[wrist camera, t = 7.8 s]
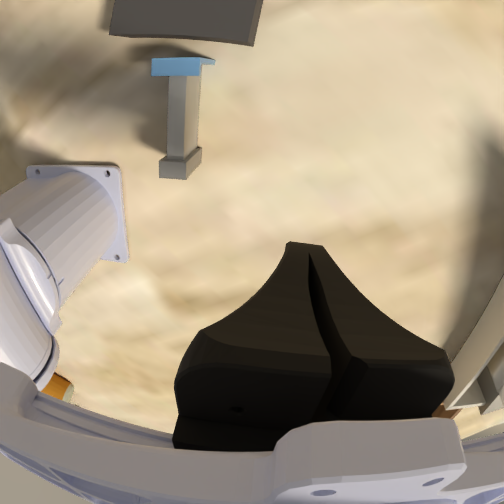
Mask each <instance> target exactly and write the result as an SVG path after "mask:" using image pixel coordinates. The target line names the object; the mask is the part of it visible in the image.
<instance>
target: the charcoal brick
mask: <svg viewBox="0 0 504 504" xmlns="http://www.w3.org/2000/svg"><path fill="white" fill-rule="evenodd" d="M262 4H263V0H115V3H114V8H113V14H112V19H111V25H110V31H109V35H114V36H122V37H130V38H176V39H192V40H204V41H214V42H223V43H232V44H239V45H246V46H252V47H253V46H254V41H255V36H256V32H257V27H258V22H259V17H260V13H261V8H262Z"/></svg>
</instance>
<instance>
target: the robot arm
mask: <svg viewBox="0 0 504 504" xmlns="http://www.w3.org/2000/svg"><path fill="white" fill-rule="evenodd" d="M38 170H39V171H40V173H39V171H38ZM107 170H108V171H109V172H110V175H108V174H107ZM26 175H27V179H26V180H24V181H22V182H21V183H19V184H17V185H16V186H14V187H12V188H11V189H9V190H8V191H6V192H5V193H3V194H1V195H0V453H2V454H3V455H4V456H5V457H7V458H8V459H10V460H12V461H13V462H15V463H17V464H18V465H20V466H22V467H23V468H25V469H27V470H29V471H30V472H32V473H34V474H35V475H37V476H39V477H41V478H43V479H45V480H46V481H48V482H50V483H52V484H54V485H56V486H58V487H60V488H62V489H64V490H66V491H68V492H70V493H72V494H74V495H76V496H78V497H81V498H83V499H85V500H87V501H89V502H92V503H94V504H497V503H500V502H502V501H504V432H503V433H499V434H494V435H490V436H486V437H482V438H477V439H472V440H467V441H461V438H460V434H459V431H458V427H457V425H456V423H455V421H454V420H452V419H449V418H438V417H433V418H432V414H433V412H434V411H435V410H436V409H437V408H438V407H439V406H440V405H441V403H442V402H443V401H444V400H445V399H446V398H447V396H448V395H449V393H450V392H451V390H452V388H453V386H454V382H455V377H454V373H453V370H452V367H451V365H450V362H449V359H448V357H447V354H446V352H445V350H443V349H441V348H439V347H437V346H435V345H433V344H431V343H429V342H427V341H425V340H423V339H421V338H420V337H418V336H416V335H415V334H413V333H411V332H410V331H408V330H406V329H405V328H403V327H402V326H400V325H399V324H397V323H396V322H395V321H393V320H392V319H391V318H389V317H388V316H387V315H385V314H384V313H383V312H381V311H380V310H379V309H378V308H377V307H376V306H374V305H373V304H372V303H371V302H370V301H369V300H368V299H367V298H366V297H365V296H364V295H363V294H362V293H361V292H360V291H359V290H358V289H357V288H356V287H355V286H354V285H353V284H352V283H351V282H350V280H349V279H348V278H347V277H346V276H345V275H344V273H343V272H342V271H341V270H340V268H339V267H338V266H337V264H336V263H335V262H334V261H333V259H332V258H331V257H330V255H329V254H328V252H327V251H326V250H325V248H324V247H323V246H321V245H314V244H306V243H298V242H291V241H290V242H288V243H286V248H285V252H284V255H283V257H282V259H281V261H280V262H279V264H278V266H277V268H276V269H275V271H274V272H273V273H272V275H271V276H270V278H269V279H268V280H267V281H266V283H265V284H264V285H263V286H262V287H261V288H260V289H259V291H258V292H257V293H256V294H255V295H254V296H252V297H251V298H250V299H249V300H248V301H247V302H246V303H245V304H243V305H242V306H241V307H240V308H238V309H237V310H235V311H234V312H232V313H231V314H229V315H228V316H226V317H225V318H223V319H222V320H220V321H218V322H216V323H214V324H212V325H210V326H208V327H206V328H204V329H202V330H200V331H199V332H198V333H197V335H196V336H195V338H194V339H193V341H192V342H191V344H190V345H189V347H188V349H187V351H186V352H185V354H184V356H183V358H182V361H181V363H180V366H179V368H178V372H177V375H176V378H175V381H174V391H175V397H176V402H177V408H178V413H179V415H178V419H177V422H176V426H175V429H174V433H173V434H170V433H165V432H161V431H157V430H153V429H149V428H145V427H141V426H138V425H134V424H130V423H127V422H123V421H120V420H117V419H114V418H110V417H107V416H104V415H101V414H98V413H95V412H92V411H89V410H86V409H84V408H81V407H78V406H75V405H73V404H70V403H67V402H65V401H62V400H60V399H57V398H55V397H52V396H50V395H48V394H45V393H43V392H41V391H42V390H43V389H44V387H45V386H46V385H47V384H48V382H49V381H50V379H51V377H52V375H53V373H54V371H55V369H56V367H57V364H58V360H59V353H60V350H59V345H58V342H57V340H56V339H55V337H54V335H55V333H56V332H57V330H58V329H59V327H60V326H61V325H62V321H61V319H60V317H59V314H58V312H59V310H60V309H61V308H62V306H63V305H64V304H65V302H66V301H67V300H68V298H69V297H70V296H71V294H72V293H73V292H74V290H75V289H76V288H77V287H78V285H79V284H80V283H81V282H82V280H83V279H84V278H85V277H86V275H87V274H88V273H89V272H90V270H91V269H92V268H93V267H94V265H95V264H96V263H97V262H98V261H99V259H102V260H108V261H114V262H120V263H126V262H127V261H128V260H129V249H128V241H127V233H126V224H125V214H124V203H123V191H122V176H121V170H120V168H119V167H117V166H105V165H30V166H28V167H27V168H26ZM116 254H117V255H118V256H119V257H118V256H117V255H116Z"/></svg>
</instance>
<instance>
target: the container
mask: <svg viewBox="0 0 504 504" xmlns="http://www.w3.org/2000/svg"><path fill="white" fill-rule="evenodd" d="M477 381H478V384H479V386H480V389H481V391H482V394H483V396H484V399H485V402H486V403H485V404H484V405H483V406H478V407H479V410H480V414H481V415H484V414H487V413H490V412H493V411H496V410H499V409H502V408H504V342H503V343H502V345H501V346H500V347H499V349H498V350H497V352H496V353H495V354H494V356H493V357H492V359H491V360H490V361H489V363H488V364H487V365H486V367H485V368H484V369H483V371H482V372H481V374H480V375H479V377H478V378H477Z"/></svg>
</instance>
